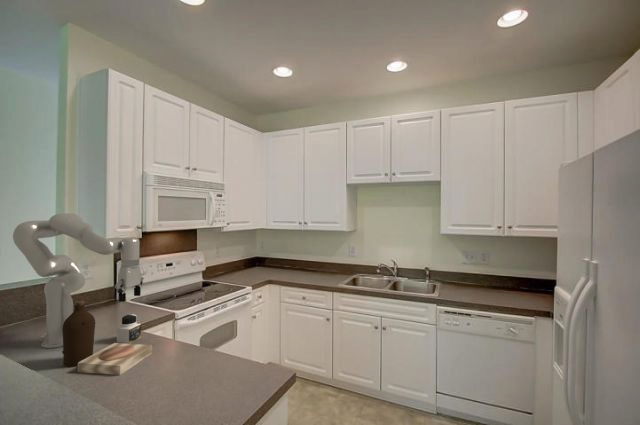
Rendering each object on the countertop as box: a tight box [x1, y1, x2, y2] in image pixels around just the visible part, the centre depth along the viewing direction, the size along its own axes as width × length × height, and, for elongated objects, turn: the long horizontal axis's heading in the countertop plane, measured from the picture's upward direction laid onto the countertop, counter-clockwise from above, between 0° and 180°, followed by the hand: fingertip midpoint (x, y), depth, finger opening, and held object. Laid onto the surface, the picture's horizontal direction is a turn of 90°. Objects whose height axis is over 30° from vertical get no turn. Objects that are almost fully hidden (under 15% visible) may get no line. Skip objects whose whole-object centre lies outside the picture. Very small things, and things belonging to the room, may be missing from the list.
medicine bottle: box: [116, 314, 142, 344], centre depth 143 cm, size 7×7×12 cm
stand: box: [77, 342, 153, 376], centre depth 122 cm, size 18×18×4 cm
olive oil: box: [61, 299, 96, 368], centre depth 122 cm, size 11×11×25 cm
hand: (129, 298), depth 143 cm, fingers open, 9 cm apart
